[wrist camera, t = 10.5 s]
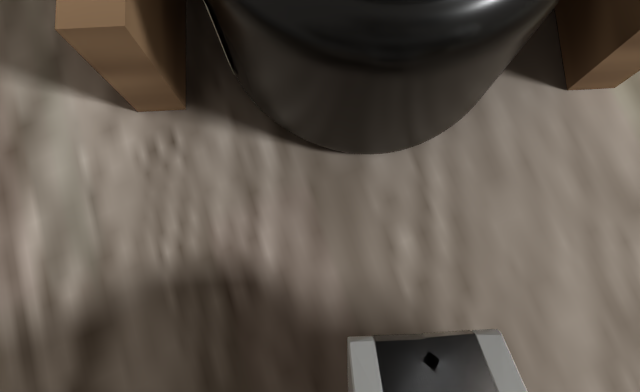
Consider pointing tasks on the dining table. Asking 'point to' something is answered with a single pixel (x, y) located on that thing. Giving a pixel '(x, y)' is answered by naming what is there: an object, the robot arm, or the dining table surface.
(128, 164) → the dining table surface
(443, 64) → the ink bottle
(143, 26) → the cradle
